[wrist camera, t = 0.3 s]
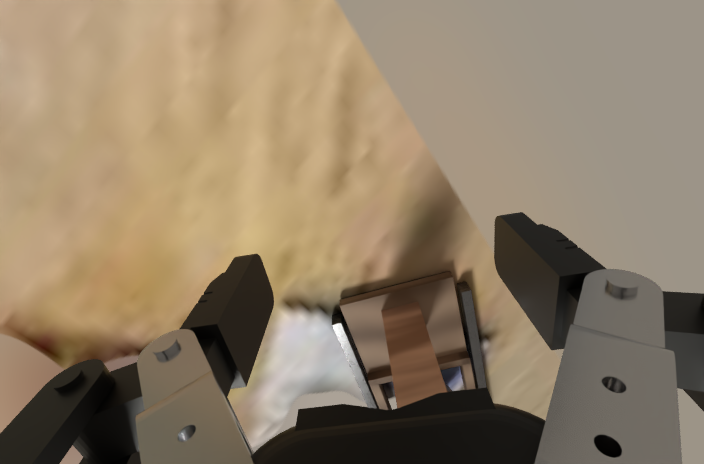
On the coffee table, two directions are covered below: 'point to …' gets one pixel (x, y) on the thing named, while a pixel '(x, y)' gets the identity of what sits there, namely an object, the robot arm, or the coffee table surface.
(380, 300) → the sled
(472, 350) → the lane rails
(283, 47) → the coffee table surface
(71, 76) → the coffee table surface
